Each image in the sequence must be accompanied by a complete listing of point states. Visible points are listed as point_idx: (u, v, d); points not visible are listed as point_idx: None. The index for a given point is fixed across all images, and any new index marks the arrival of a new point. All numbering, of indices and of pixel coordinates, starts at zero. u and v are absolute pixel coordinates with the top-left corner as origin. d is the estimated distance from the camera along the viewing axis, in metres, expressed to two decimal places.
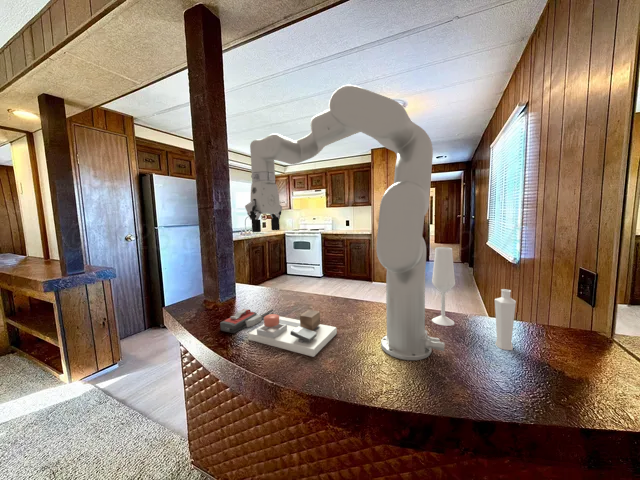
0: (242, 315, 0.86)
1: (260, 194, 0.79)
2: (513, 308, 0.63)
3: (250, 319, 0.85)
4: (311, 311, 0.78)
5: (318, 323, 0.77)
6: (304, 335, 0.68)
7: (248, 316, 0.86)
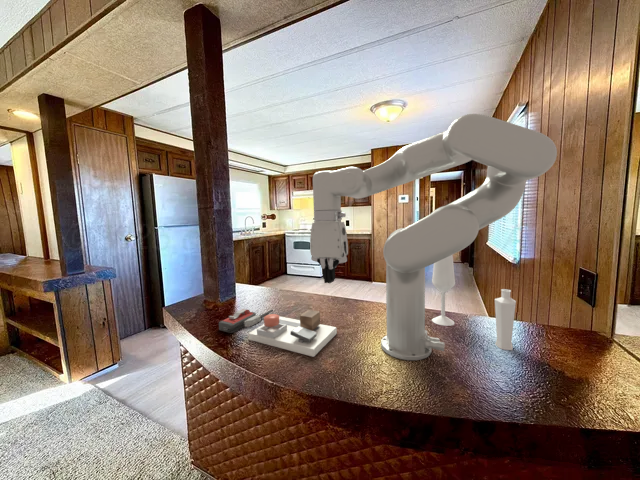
0: (241, 315, 0.87)
1: None
2: (513, 308, 0.63)
3: (248, 319, 0.85)
4: (311, 311, 0.78)
5: (318, 323, 0.77)
6: (304, 335, 0.68)
7: (247, 316, 0.86)
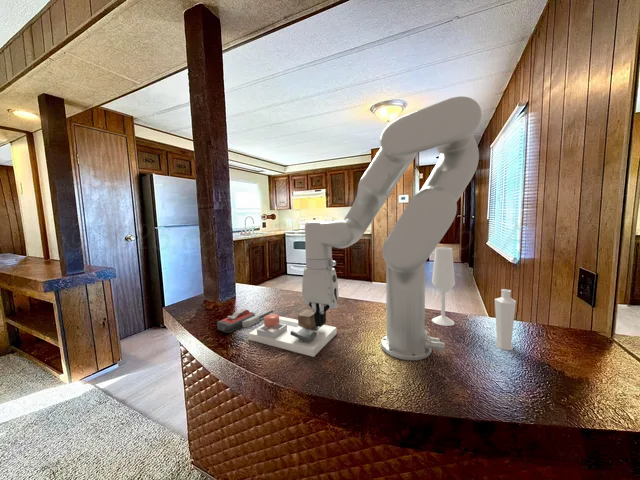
0: (240, 315, 0.87)
1: None
2: (513, 308, 0.63)
3: (247, 320, 0.85)
4: (309, 311, 0.78)
5: None
6: (304, 335, 0.68)
7: (245, 316, 0.86)
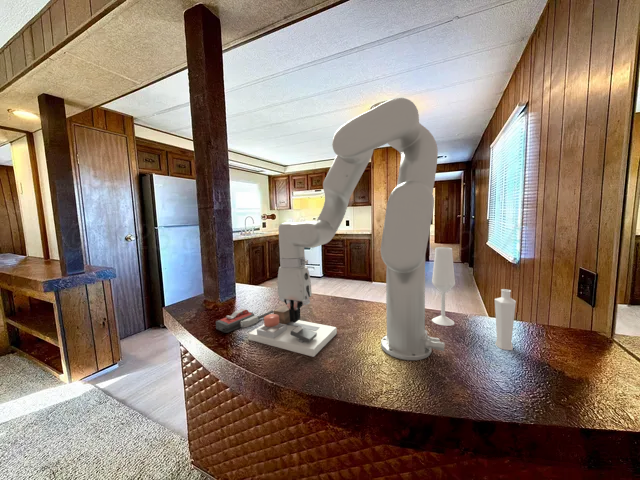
0: (239, 315, 0.87)
1: None
2: (513, 308, 0.63)
3: (245, 320, 0.84)
4: (285, 307, 0.82)
5: None
6: (304, 335, 0.68)
7: (244, 316, 0.86)
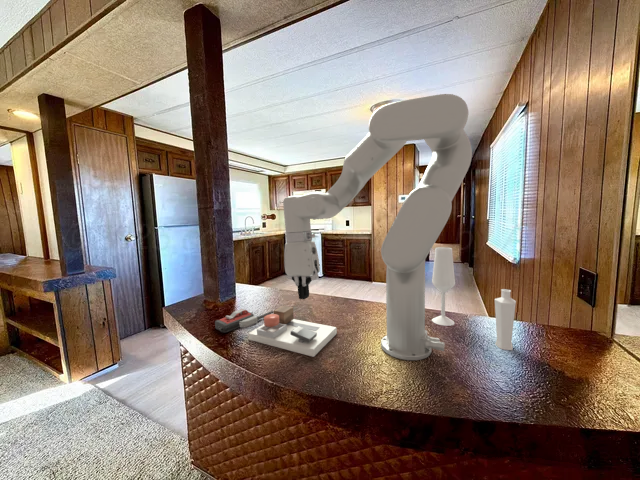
0: (238, 315, 0.87)
1: None
2: (513, 308, 0.63)
3: (244, 320, 0.84)
4: (285, 307, 0.82)
5: (291, 318, 0.81)
6: (304, 335, 0.68)
7: (243, 317, 0.86)
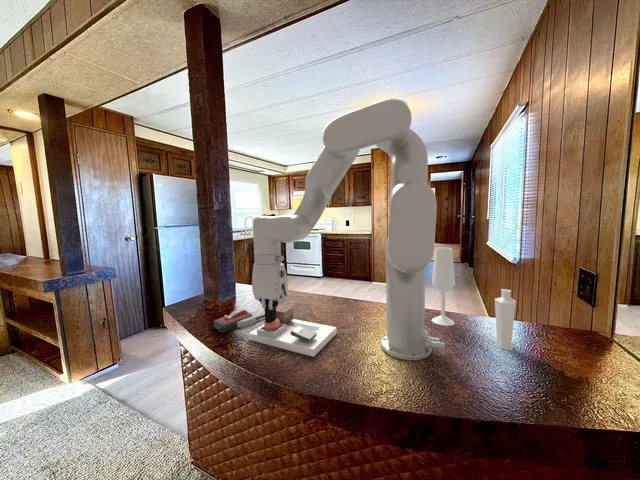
0: (237, 315, 0.87)
1: (286, 277, 0.73)
2: (513, 308, 0.63)
3: (242, 320, 0.84)
4: (285, 307, 0.82)
5: (291, 318, 0.81)
6: (304, 335, 0.68)
7: (242, 317, 0.86)
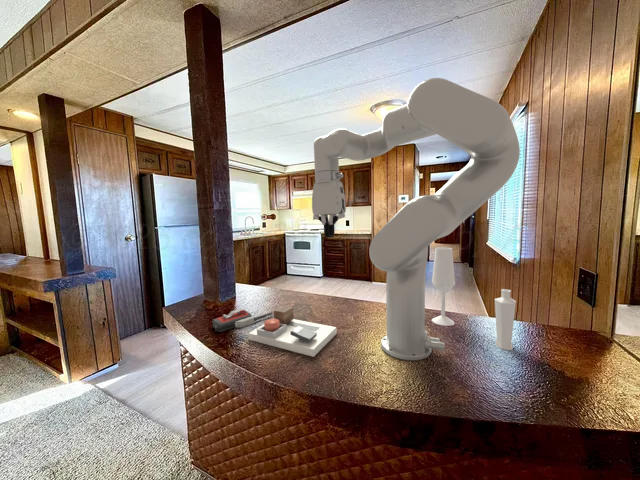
0: (236, 315, 0.87)
1: None
2: (513, 308, 0.63)
3: (240, 320, 0.84)
4: (285, 307, 0.82)
5: (291, 318, 0.81)
6: (304, 335, 0.68)
7: (240, 317, 0.86)
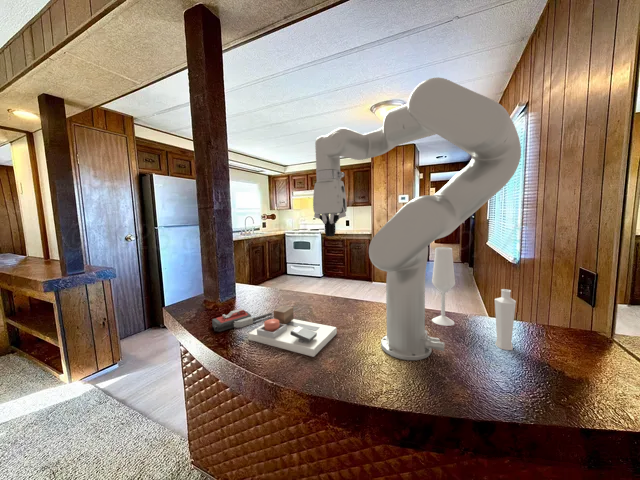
0: (235, 315, 0.87)
1: None
2: (513, 308, 0.63)
3: (239, 320, 0.84)
4: (285, 307, 0.82)
5: (291, 318, 0.81)
6: (304, 335, 0.68)
7: (239, 317, 0.86)
